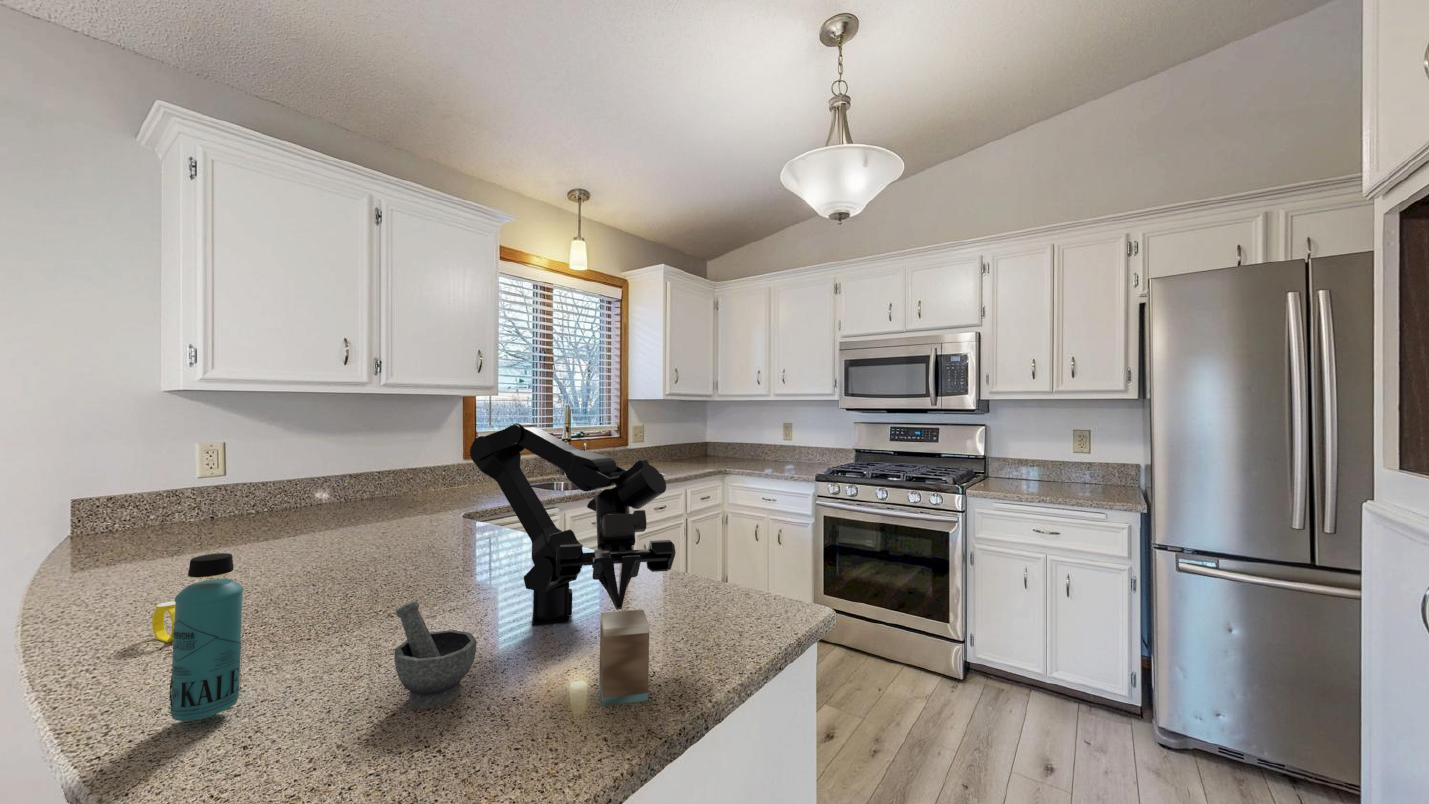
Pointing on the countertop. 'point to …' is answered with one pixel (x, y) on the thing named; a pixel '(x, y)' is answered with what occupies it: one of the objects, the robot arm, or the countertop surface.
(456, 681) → the mortar and pestle
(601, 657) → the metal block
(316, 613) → the countertop surface
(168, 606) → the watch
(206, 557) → the beverage bottle
